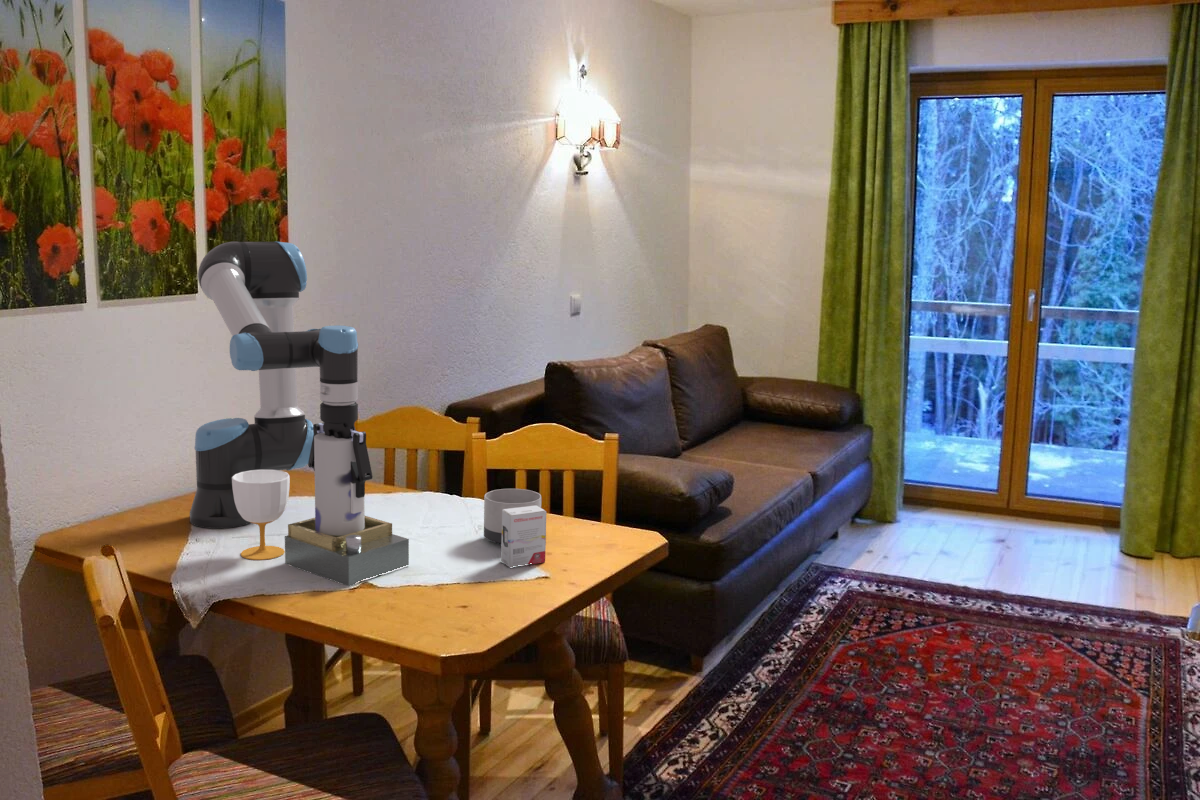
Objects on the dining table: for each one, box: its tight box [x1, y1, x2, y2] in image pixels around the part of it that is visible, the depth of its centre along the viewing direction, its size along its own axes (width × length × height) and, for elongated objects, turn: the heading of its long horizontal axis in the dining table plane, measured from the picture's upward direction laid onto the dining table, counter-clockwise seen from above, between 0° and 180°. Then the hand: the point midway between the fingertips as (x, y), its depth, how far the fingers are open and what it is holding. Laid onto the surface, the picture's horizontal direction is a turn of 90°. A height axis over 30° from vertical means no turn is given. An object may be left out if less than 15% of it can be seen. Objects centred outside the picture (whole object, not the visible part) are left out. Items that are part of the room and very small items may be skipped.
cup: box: [232, 470, 291, 561], centre depth 233 cm, size 12×12×17 cm
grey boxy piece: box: [284, 515, 410, 587], centre depth 228 cm, size 20×16×9 cm
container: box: [314, 432, 366, 535], centre depth 227 cm, size 10×10×20 cm
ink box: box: [500, 505, 547, 568], centre depth 233 cm, size 9×5×12 cm, turn 119°
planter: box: [483, 488, 542, 546], centre depth 248 cm, size 13×13×10 cm
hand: (340, 507), depth 228 cm, fingers closed on container, 10 cm apart
